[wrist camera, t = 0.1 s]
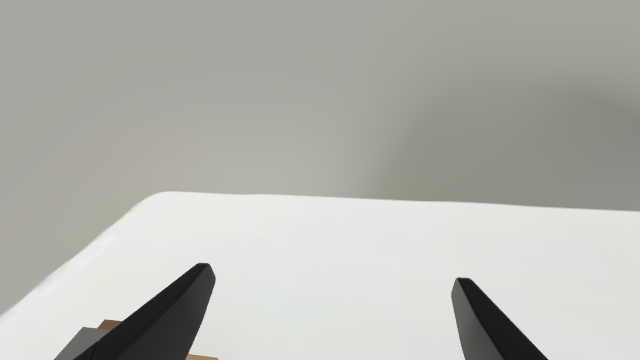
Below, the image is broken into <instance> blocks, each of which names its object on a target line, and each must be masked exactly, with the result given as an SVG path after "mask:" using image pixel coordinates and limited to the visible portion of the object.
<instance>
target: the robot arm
mask: <svg viewBox="0 0 640 360" xmlns="http://www.w3.org/2000/svg"><path fill="white" fill-rule="evenodd" d="M215 281H216V278H215V275H214V272H213V270H212V268H211V266H210V264H208V263H198V264H196V265H195V266H194V267H192V268H191V269H190V270H188V271H187V272H186V273H184V274H183V275H182V276H181V277H179V278H178V279H177V280H175V281H174V282H173V283H172V284H170V285H169V286H168V287H166V288H165V289H164V290H162V291H161V292H160V293H159V294H157V295H156V296H155V297H153V298H152V299H151V300H150V301H148V302H147V303H146V304H144V305H143V306H142V307H140V308H139V309H138V310H137V311H135V312H134V313H133V314H131V315H130V316H129V317H128V318H126V319H125V320H124V321H122V322H121V323H120V324H118V325H117V326H116V327H115V328H113V329H112V330H111V331H109V332H108V333H107V334H106V335H104V336H103V337H102V338H100V339H99V341H96V342H95V343H94V344H92V345H91V346H90V347H89V348H87V349H86V350H85V351H83V352H82V353H81V354H79V355H78V356H77V357H75V358H74V359H73V360H186V357H187V355H188V353H189V351H190V348H191V346H192V344H193V341H194V339H195V337H196V335H197V332H198V330H199V328H200V325H201V323H202V320H203V318H204V315H205V312H206V309H207V306H208V303H209V300H210V297H211V294H212V291H213V288H214V285H215ZM451 297H452V303H453V308H454V313H455V318H456V323H457V328H458V333H459V337H460V342H461V346H462V350H463V353H464V357H465V360H548V359H547V358H546V357H545V356H544V355H543V354H542V353H541V352H540V351H539V349H538V348H537V347H536V346H535V345H534V344H533V343H532V342H531V341H530V340H529V339H528V338H527V337H526V336H525V335H524V334H523V333H522V332H521V331H520V330H519V329H518V328H517V327H516V326H515V324H514V323H513V322H512V321H511V320H510V319H509V318H508V317H507V316H506V315H505V314H504V313H503V312H502V311H501V310H500V309H499V308H498V307H497V306H496V305H495V304H494V303H493V302H492V300H491V299H490V298H489V297H488V296H487V295H486V294H485V293H484V292H483V291H482V290H481V289H480V288H479V287H478V286H477V285H476V284H475V283H474V282H473V281H472V280H471V279H469V278H460V277H458V278H456V280H455V283H454V286H453V289H452V293H451Z"/></svg>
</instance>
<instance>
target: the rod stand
mask: <svg viewBox="0 0 640 360" xmlns="http://www.w3.org/2000/svg"><path fill="white" fill-rule="evenodd" d="M121 322H122V321H114V320H104V321H103V322H102V323H101V325H100V326H99V327H98V328H97V329H96V328H87V327H83V328H82V329H81V330H80V331H79V332H78V333H77V334H76V335H75V337H74V338H73V339H72V340H71V341H70V342H69V343H68V344H67V346H66V347H65V348H64V349H63V350H62V351H61V352H60V353H59V355H58V356H57V357H56V358H55V359H54V360H73V359H74V358H75V357H77V356H78V355H79V354H81V353H82V352H83V351H85V350H86V349H87V348H89V347H90V346H91V345H92V344H94V343H95V342H96V341H99V339H100V338H102V337H103V336H104V335H106V334H107V333H108V332H109V331H111V330H112V329H113V328H115V327H116V326H117V325H118V324H120V323H121ZM186 360H218V358H215V357H207V356H199V355H191V354H188V355H187V357H186Z"/></svg>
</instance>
